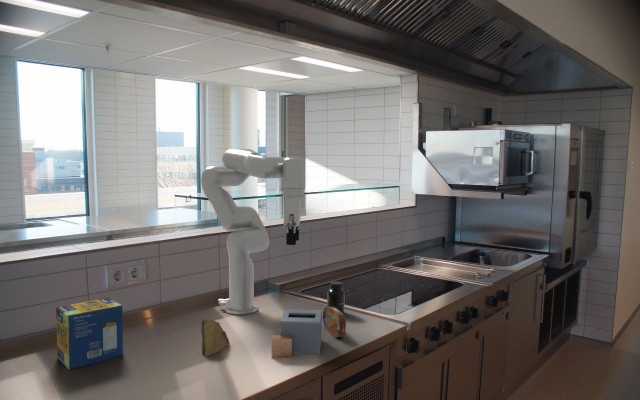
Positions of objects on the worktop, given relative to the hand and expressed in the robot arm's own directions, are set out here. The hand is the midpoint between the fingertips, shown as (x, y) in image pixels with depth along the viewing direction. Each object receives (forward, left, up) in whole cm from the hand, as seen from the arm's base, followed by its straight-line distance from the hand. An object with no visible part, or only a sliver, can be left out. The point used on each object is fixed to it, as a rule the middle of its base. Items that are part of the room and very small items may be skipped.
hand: (292, 242), depth 166 cm
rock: (-21, -22, -31) cm, 43 cm away
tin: (+15, -4, -31) cm, 34 cm away
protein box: (-56, -31, -31) cm, 71 cm away
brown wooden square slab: (0, -25, -30) cm, 40 cm away
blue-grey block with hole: (+5, -17, -30) cm, 35 cm away
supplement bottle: (+15, +18, -31) cm, 38 cm away
